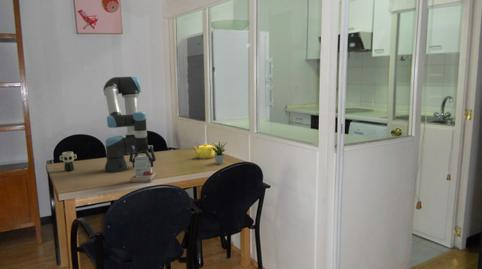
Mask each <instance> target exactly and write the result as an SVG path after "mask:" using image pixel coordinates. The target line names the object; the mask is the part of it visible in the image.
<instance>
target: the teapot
mask: <svg viewBox="0 0 482 269" xmlns="http://www.w3.org/2000/svg"><path fill="white" fill-rule="evenodd" d="M214 144H216V145H218V142H214ZM214 144H213V145H212V144H208V143H203V144H202V145H199V146H198V147H197V146H192V147H193V148H194V152H195V155H196V157H197V159H199V160H200V159H201V160H207V159H213V158H215V154H216V152H215V151H214V150H213V149H211V148H210V147H212V148H214V149H216V150H217V148H216V146H215V145H214ZM211 150H212V151H211Z"/></svg>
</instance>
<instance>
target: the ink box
mask: <svg viewBox="0 0 482 269" xmlns="http://www.w3.org/2000/svg"><path fill="white" fill-rule="evenodd" d="M149 162H150V160H149V157H147V155H138V156H137V157H135V169H136V173H135V175H136V176H139V175H150V174H151V173H152V172H151V173H150V168H149Z"/></svg>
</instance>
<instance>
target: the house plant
mask: <svg viewBox="0 0 482 269" xmlns="http://www.w3.org/2000/svg"><path fill="white" fill-rule="evenodd" d="M228 143H229V142H228V141H227V142H225V143H224V142H222V143H221V142H220V141H218V144H215V142H214V143H213V142H212V144H213V146H214V145H215V146H216V149H214V148H212V147H213V146H212V147H210V148H211V149H213V150H214V151H215V156H214V160H215V164H217V165H220V164H224V160H225V158H224V157H225V154H224V153H223V152H225V151H226V150H228V149H226V148H225V146H226V145H227V144H228ZM211 151H212V150H211Z"/></svg>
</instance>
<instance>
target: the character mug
mask: <svg viewBox="0 0 482 269" xmlns="http://www.w3.org/2000/svg"><path fill="white" fill-rule="evenodd" d="M76 159H78V158H77V154H76V153H75V154H74V152H73V151H64V152H62V153H61V155H60V156H59V161H63V162H64V171H65V170H69V171H70V170H71V171H74V170H75V165H74V163H73V162H74V161H75V160H76Z"/></svg>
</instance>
